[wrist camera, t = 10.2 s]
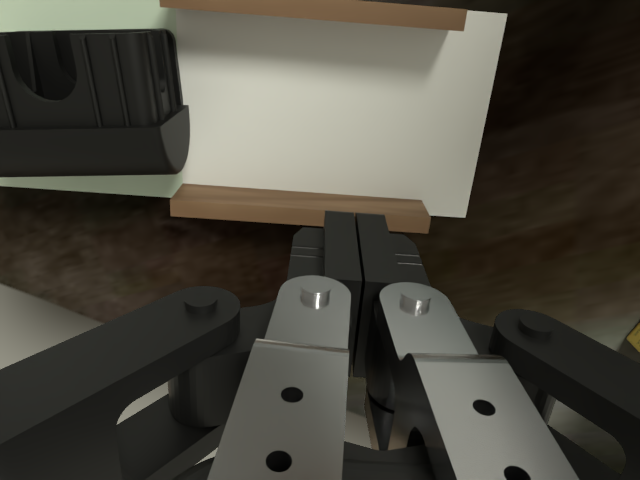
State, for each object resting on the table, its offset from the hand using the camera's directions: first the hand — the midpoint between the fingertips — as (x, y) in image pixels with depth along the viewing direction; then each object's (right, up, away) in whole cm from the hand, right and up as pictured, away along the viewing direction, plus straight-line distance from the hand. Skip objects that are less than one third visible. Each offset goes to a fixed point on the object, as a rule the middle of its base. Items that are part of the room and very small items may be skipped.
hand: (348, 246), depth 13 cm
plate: (-7, +8, +17) cm, 20 cm away
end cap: (-13, +9, +17) cm, 23 cm away
